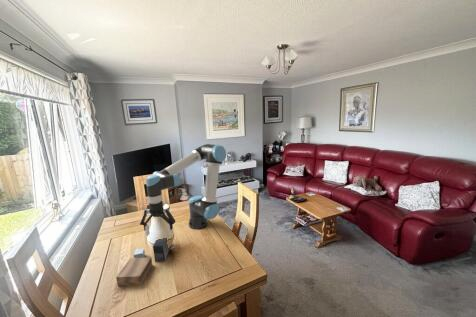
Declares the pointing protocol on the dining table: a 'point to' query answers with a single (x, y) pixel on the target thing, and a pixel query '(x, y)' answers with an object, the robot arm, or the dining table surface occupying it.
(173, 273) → the dining table surface
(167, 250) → the small box
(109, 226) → the dining table surface
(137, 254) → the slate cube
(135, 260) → the walnut base
